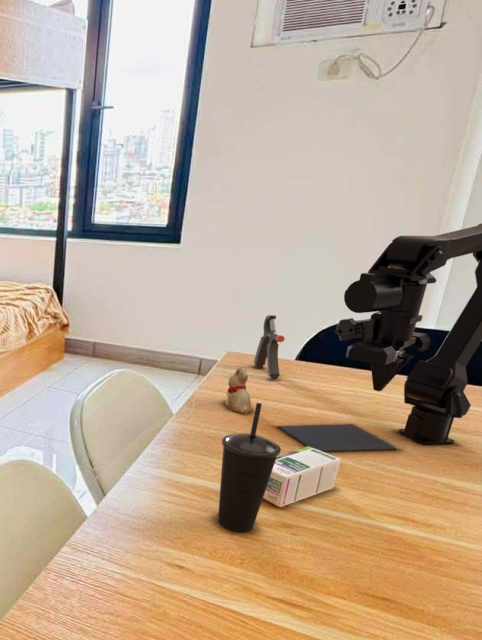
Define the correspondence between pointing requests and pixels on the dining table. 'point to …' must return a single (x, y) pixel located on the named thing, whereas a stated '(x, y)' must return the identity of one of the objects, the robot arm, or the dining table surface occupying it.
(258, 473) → the drinking cup
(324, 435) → the placemat
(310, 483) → the syrup box
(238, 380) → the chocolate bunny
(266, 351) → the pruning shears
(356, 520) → the dining table surface
